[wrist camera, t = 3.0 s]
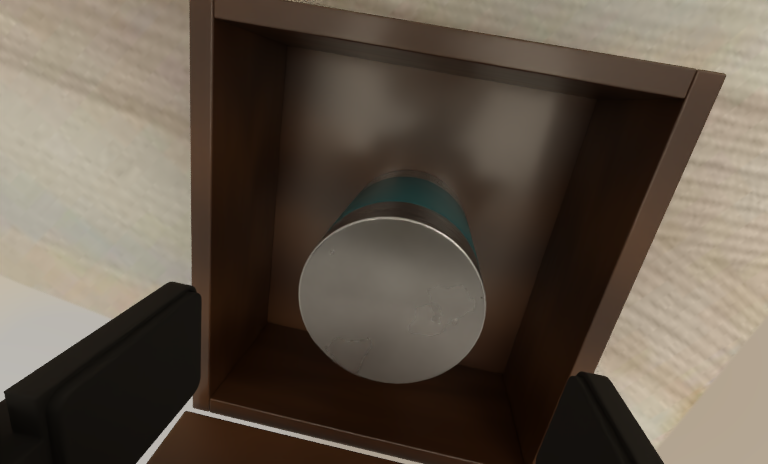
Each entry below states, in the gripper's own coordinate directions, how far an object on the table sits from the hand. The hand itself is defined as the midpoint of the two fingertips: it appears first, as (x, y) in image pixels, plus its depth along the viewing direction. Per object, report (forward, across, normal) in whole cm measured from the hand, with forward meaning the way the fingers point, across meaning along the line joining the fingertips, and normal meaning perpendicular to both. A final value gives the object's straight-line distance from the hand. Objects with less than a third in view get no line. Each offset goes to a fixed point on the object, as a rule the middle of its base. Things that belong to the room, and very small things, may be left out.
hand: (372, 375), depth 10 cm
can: (+11, 0, 0) cm, 11 cm away
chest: (+12, 0, 0) cm, 12 cm away
